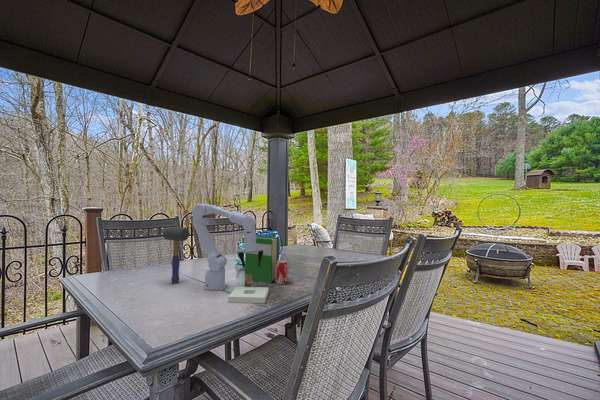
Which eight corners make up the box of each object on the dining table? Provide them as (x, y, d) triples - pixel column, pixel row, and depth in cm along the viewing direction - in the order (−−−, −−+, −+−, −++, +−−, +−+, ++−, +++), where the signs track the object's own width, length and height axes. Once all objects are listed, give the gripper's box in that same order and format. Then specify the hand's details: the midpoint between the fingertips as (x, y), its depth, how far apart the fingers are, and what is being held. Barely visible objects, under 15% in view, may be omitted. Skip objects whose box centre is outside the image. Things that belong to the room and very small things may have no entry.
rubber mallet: (160, 283, 147) (161, 226, 147) (171, 279, 154) (172, 225, 154) (179, 285, 143) (180, 227, 143) (189, 281, 150) (190, 226, 150)
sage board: (228, 302, 121) (228, 296, 121) (236, 291, 135) (236, 286, 135) (264, 303, 121) (264, 297, 121) (268, 292, 135) (268, 287, 135)
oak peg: (243, 290, 138) (244, 276, 138) (245, 287, 142) (245, 274, 142) (251, 290, 138) (251, 276, 138) (252, 287, 142) (252, 274, 142)
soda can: (283, 285, 146) (283, 263, 146) (272, 283, 150) (272, 261, 150) (290, 282, 152) (290, 260, 152) (280, 280, 156) (280, 259, 156)
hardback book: (277, 280, 156) (278, 237, 156) (270, 283, 150) (271, 239, 150) (252, 275, 164) (253, 235, 164) (244, 279, 158) (245, 236, 158)
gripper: (234, 242, 135) (236, 269, 135) (264, 240, 137) (265, 267, 137) (236, 240, 142) (237, 266, 142) (264, 238, 144) (266, 264, 144)
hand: (251, 266), depth 140 cm, fingers open, 7 cm apart
